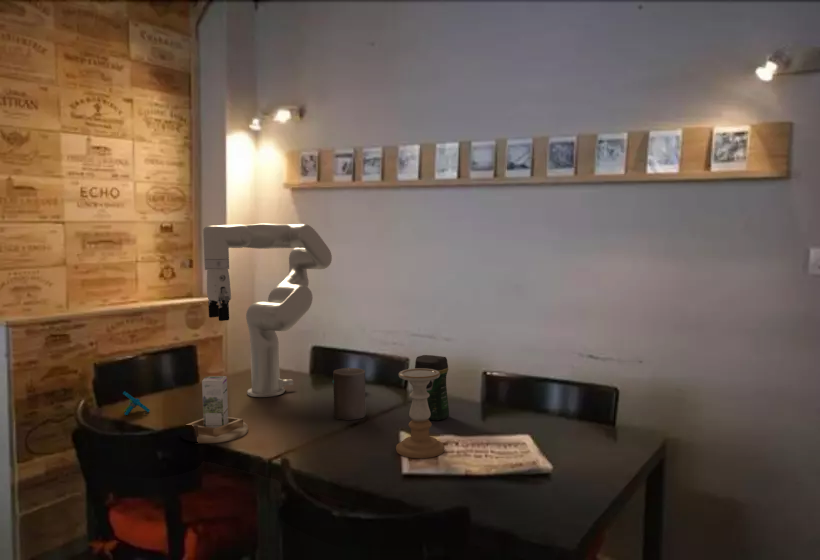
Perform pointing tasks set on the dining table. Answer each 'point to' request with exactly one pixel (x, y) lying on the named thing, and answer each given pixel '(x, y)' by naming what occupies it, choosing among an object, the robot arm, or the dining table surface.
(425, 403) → the candle holder
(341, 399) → the pillar candle
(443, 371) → the coffee jar
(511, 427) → the dining table surface
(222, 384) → the syrup box
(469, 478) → the dining table surface
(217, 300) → the robot arm
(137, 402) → the blue t-shaped piece
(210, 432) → the flange base
